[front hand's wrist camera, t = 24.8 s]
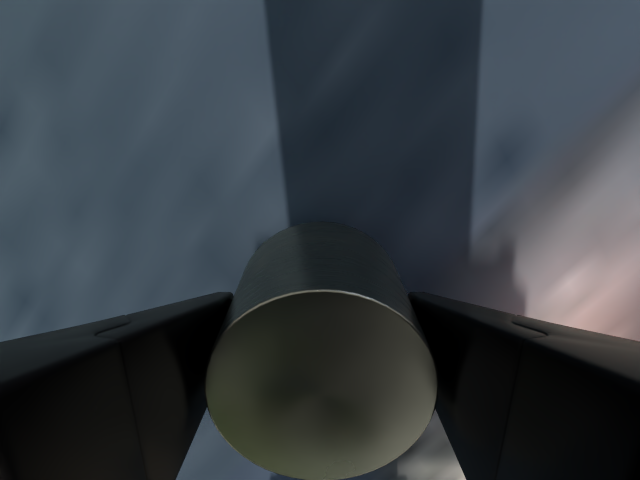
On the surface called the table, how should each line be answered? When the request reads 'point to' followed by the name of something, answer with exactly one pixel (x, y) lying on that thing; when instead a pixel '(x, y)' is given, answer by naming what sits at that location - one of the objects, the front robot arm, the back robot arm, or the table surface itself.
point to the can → (321, 358)
